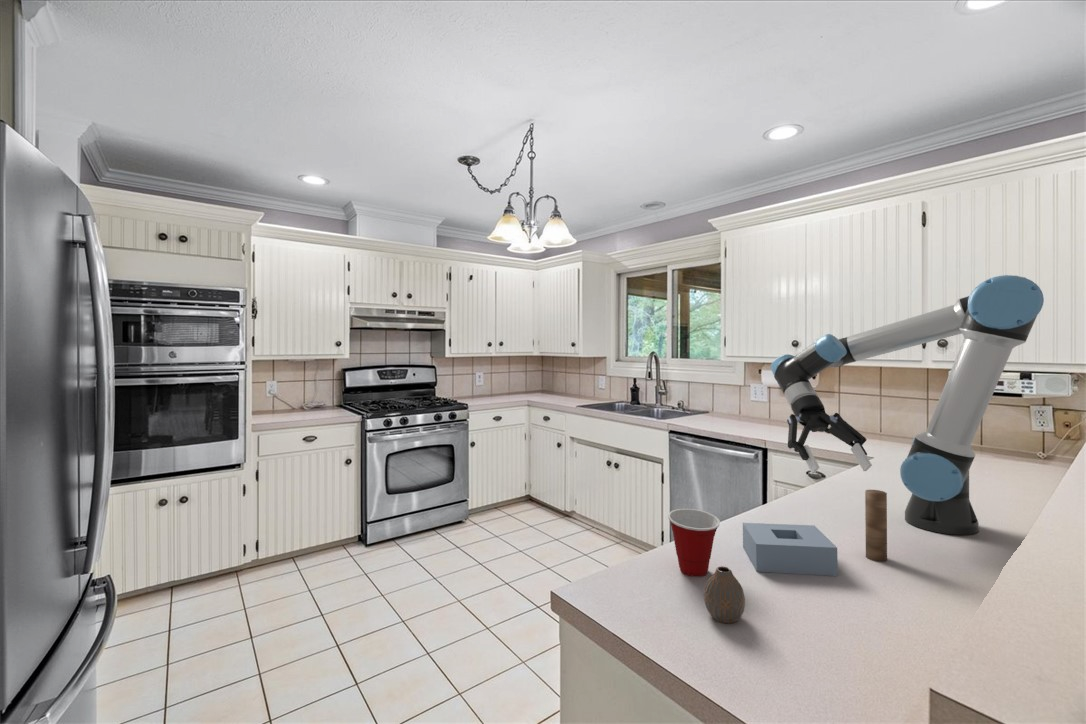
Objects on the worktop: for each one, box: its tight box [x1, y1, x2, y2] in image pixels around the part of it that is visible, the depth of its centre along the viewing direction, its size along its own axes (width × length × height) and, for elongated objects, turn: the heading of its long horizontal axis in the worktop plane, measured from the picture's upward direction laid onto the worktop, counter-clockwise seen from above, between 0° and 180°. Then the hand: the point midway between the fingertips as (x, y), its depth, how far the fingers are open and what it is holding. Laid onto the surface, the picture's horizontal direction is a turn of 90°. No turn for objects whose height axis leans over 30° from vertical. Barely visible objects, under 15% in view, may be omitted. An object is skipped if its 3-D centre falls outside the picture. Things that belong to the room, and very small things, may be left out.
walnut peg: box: [864, 489, 888, 563], centre depth 110 cm, size 4×4×15 cm
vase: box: [703, 565, 746, 624], centre depth 88 cm, size 7×7×9 cm
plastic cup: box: [667, 508, 721, 578], centre depth 106 cm, size 11×11×12 cm
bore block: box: [742, 522, 839, 577], centre depth 110 cm, size 16×13×6 cm
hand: (841, 469), depth 121 cm, fingers open, 13 cm apart
